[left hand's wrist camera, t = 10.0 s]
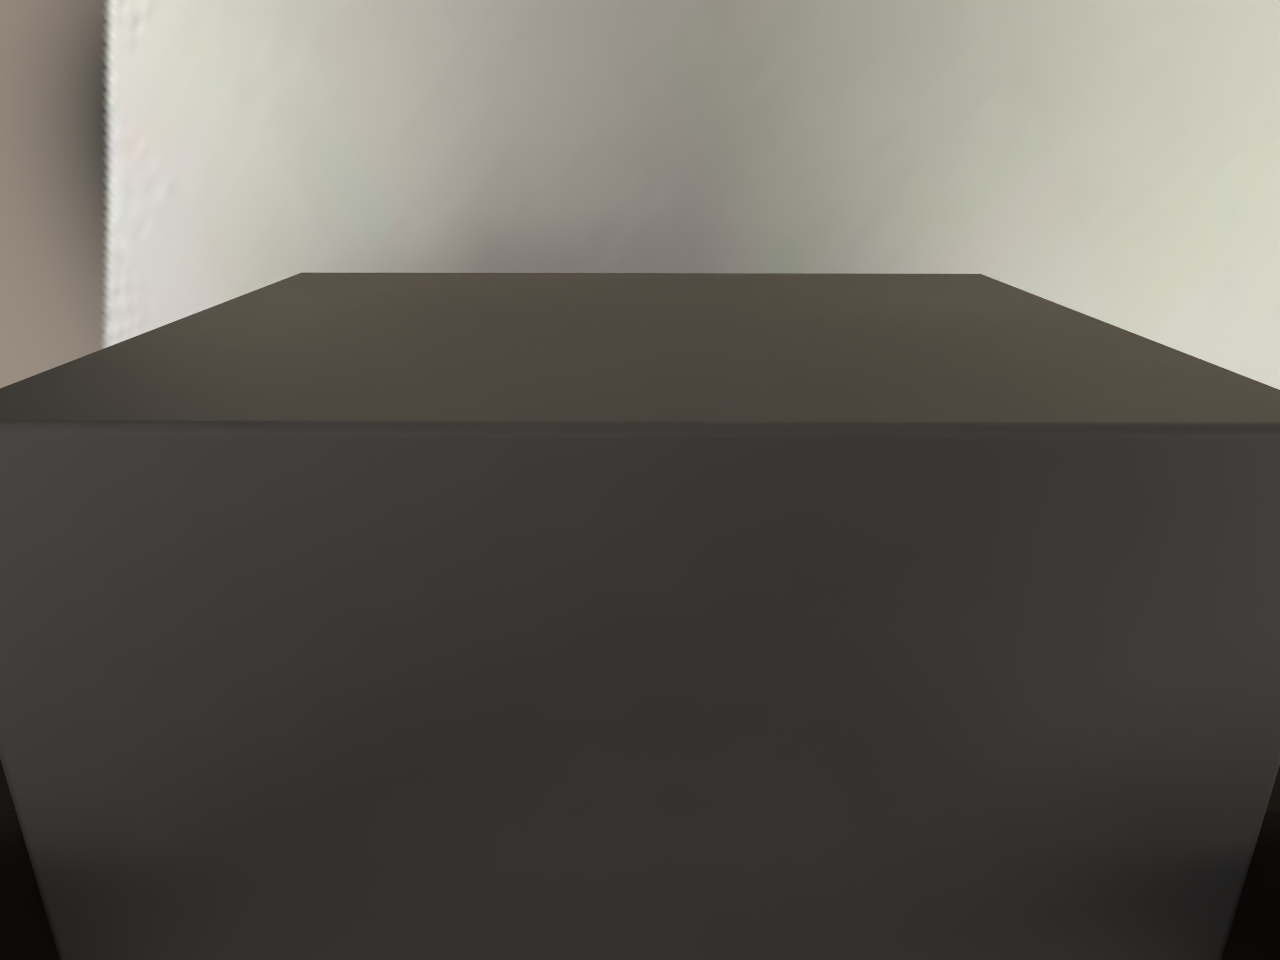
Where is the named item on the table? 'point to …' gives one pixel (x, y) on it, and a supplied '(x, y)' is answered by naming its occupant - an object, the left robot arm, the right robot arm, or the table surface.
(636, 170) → the table surface
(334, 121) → the table surface
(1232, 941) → the left robot arm
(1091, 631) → the thick board
